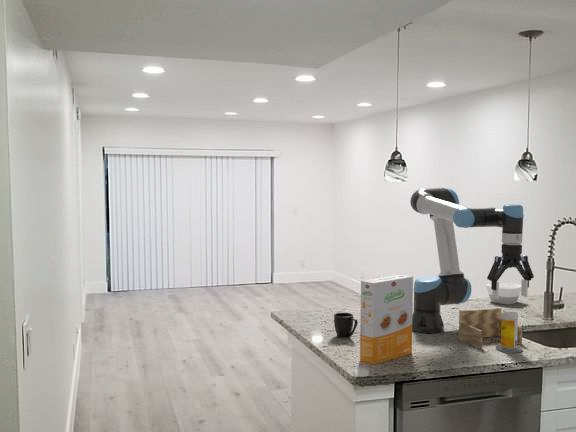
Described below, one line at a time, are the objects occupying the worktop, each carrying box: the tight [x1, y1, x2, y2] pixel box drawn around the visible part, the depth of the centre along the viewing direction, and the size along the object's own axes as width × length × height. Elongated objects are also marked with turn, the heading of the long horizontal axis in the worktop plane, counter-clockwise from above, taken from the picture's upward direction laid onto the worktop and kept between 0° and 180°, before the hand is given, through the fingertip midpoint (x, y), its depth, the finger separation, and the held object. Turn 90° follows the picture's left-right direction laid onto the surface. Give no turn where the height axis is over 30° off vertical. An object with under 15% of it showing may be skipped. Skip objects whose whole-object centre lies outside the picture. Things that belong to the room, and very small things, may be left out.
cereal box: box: [359, 274, 414, 365], centre depth 221 cm, size 22×6×30 cm, turn 129°
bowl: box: [485, 281, 522, 305], centre depth 321 cm, size 18×18×9 cm
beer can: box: [500, 308, 519, 350], centre depth 231 cm, size 6×6×15 cm
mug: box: [333, 312, 359, 339], centre depth 248 cm, size 8×12×10 cm
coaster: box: [495, 344, 523, 354], centre depth 231 cm, size 10×10×1 cm
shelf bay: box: [458, 307, 523, 349], centre depth 243 cm, size 20×14×12 cm
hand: (509, 297), depth 230 cm, fingers open, 13 cm apart
